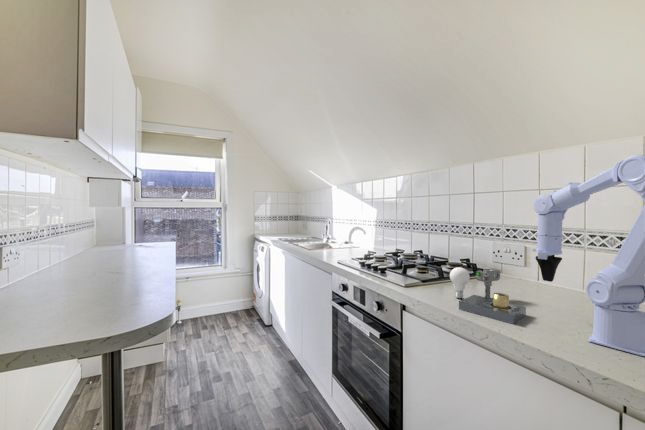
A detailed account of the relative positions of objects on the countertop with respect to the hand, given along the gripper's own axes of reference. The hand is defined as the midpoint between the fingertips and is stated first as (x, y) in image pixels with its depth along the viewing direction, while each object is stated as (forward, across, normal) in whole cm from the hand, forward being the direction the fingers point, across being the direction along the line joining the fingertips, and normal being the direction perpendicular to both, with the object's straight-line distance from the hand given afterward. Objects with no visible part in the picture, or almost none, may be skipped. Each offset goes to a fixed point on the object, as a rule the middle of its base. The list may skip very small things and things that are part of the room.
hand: (547, 280), depth 86 cm
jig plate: (+10, +10, -12) cm, 19 cm away
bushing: (+10, +10, -9) cm, 17 cm away
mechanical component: (+11, -4, -18) cm, 21 cm away
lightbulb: (+11, +5, -24) cm, 27 cm away
